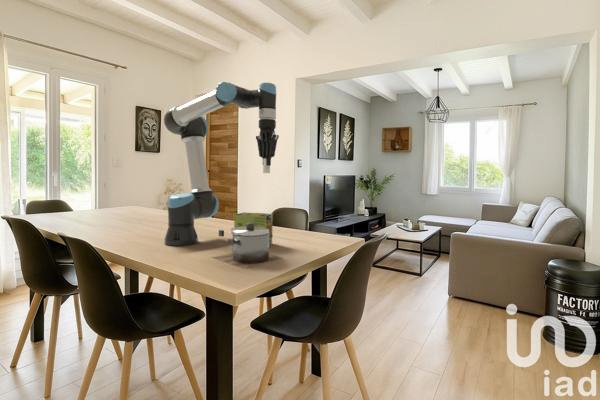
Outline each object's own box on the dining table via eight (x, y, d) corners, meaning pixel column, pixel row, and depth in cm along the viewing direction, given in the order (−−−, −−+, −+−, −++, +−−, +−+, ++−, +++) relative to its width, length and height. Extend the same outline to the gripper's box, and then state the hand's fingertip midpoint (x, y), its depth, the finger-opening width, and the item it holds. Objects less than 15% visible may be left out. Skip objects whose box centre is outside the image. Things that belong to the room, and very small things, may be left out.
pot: (216, 258, 127) (216, 230, 126) (255, 250, 142) (256, 225, 141) (242, 267, 117) (242, 236, 116) (281, 257, 131) (281, 230, 130)
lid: (222, 231, 128) (222, 222, 128) (251, 227, 139) (252, 219, 138) (247, 238, 118) (247, 228, 118) (276, 233, 129) (276, 224, 128)
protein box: (266, 250, 147) (266, 216, 146) (233, 248, 150) (233, 214, 149) (272, 245, 158) (273, 213, 156) (242, 243, 161) (242, 211, 159)
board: (211, 260, 129) (211, 257, 129) (251, 252, 144) (251, 249, 144) (243, 271, 116) (243, 268, 116) (283, 261, 131) (283, 258, 130)
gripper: (251, 119, 148) (250, 172, 150) (270, 117, 139) (270, 173, 141) (263, 122, 154) (263, 172, 156) (283, 119, 145) (282, 173, 147)
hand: (266, 173), depth 148 cm, fingers closed
